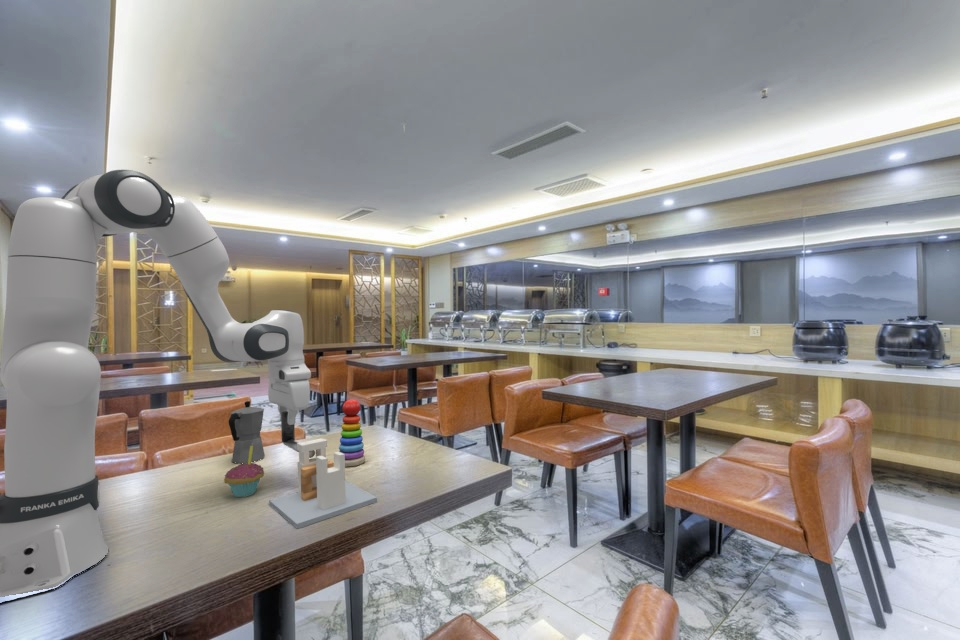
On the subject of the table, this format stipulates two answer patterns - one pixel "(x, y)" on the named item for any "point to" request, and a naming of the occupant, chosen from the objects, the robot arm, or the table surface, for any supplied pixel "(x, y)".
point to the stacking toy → (352, 435)
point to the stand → (321, 489)
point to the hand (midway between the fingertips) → (287, 422)
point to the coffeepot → (246, 433)
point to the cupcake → (244, 477)
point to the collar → (309, 481)
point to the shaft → (290, 434)
